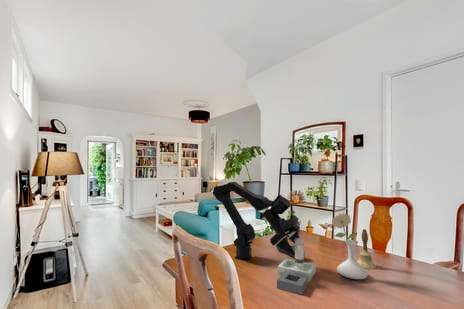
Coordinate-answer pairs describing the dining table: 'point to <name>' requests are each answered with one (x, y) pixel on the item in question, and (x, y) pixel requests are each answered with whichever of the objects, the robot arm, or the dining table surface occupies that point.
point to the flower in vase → (350, 265)
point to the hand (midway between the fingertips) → (298, 251)
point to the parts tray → (290, 267)
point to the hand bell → (365, 254)
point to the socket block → (292, 282)
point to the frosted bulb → (299, 254)
